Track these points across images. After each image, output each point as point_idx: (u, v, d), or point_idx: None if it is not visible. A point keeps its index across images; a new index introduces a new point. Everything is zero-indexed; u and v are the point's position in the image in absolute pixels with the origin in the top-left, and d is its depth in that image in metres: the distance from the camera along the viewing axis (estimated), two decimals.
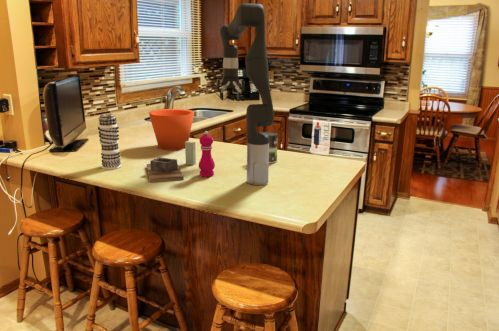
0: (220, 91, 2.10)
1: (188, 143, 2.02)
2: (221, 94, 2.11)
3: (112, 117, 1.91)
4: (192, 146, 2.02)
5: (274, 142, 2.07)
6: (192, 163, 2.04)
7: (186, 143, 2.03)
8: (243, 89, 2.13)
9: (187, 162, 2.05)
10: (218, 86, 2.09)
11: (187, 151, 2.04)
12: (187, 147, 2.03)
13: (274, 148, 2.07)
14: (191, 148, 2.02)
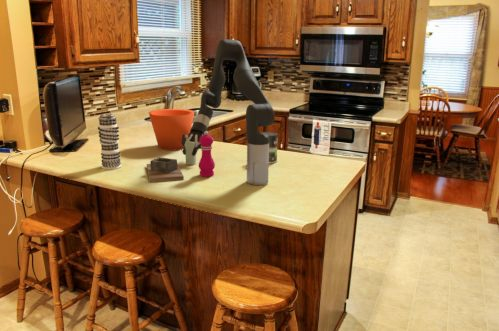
0: (184, 145, 2.05)
1: (188, 143, 2.02)
2: (184, 147, 2.04)
3: (112, 117, 1.91)
4: (192, 146, 2.02)
5: (274, 142, 2.07)
6: (192, 163, 2.04)
7: (186, 143, 2.03)
8: (199, 144, 2.02)
9: (187, 162, 2.05)
10: (183, 140, 2.07)
11: (187, 151, 2.04)
12: (187, 147, 2.03)
13: (274, 148, 2.07)
14: (191, 148, 2.02)
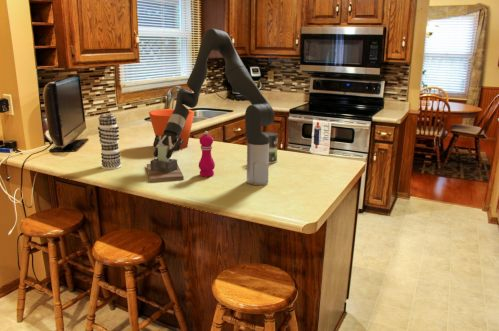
0: (156, 146, 1.90)
1: (161, 147, 1.87)
2: (156, 149, 1.89)
3: (112, 117, 1.91)
4: (165, 151, 1.87)
5: (274, 142, 2.07)
6: None
7: (159, 147, 1.87)
8: (174, 146, 1.86)
9: None
10: (155, 141, 1.91)
11: (160, 156, 1.88)
12: (160, 152, 1.88)
13: (274, 148, 2.07)
14: (164, 153, 1.87)
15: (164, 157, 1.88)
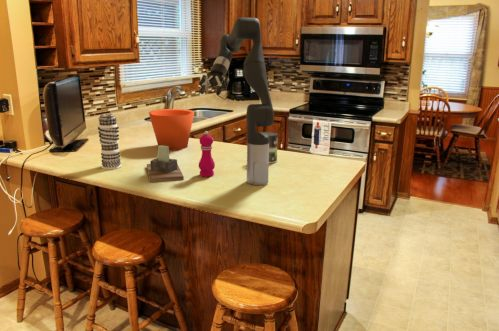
0: (202, 84, 2.04)
1: (161, 147, 1.87)
2: (202, 87, 2.04)
3: (112, 117, 1.91)
4: (165, 151, 1.87)
5: (274, 142, 2.07)
6: None
7: (159, 147, 1.87)
8: (224, 83, 2.00)
9: None
10: (201, 80, 2.06)
11: (159, 156, 1.88)
12: (160, 152, 1.88)
13: (274, 148, 2.07)
14: (164, 153, 1.87)
15: (164, 157, 1.88)
